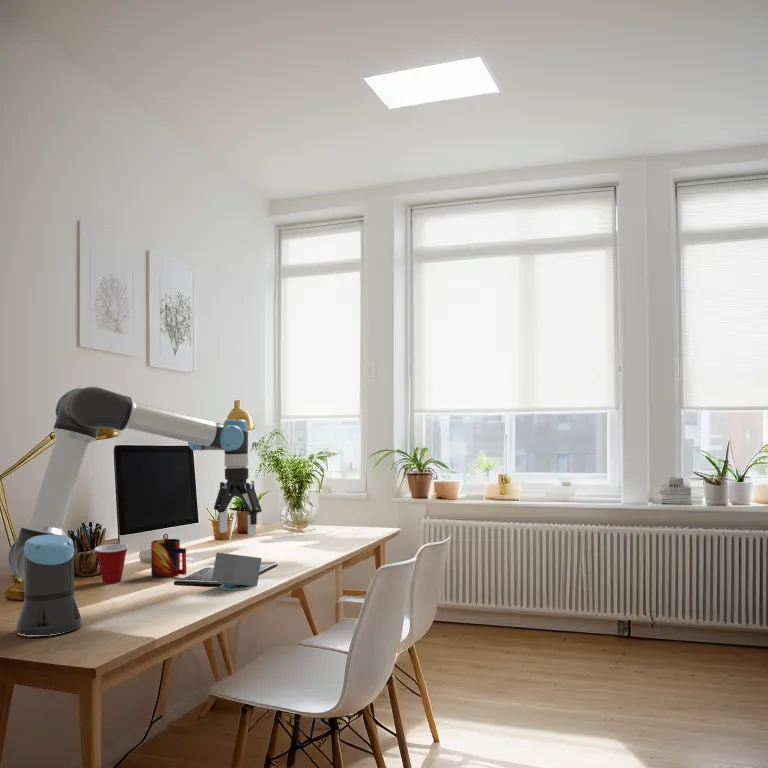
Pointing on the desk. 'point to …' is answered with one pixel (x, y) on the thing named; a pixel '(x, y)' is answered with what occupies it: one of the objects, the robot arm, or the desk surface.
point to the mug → (167, 558)
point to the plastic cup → (111, 561)
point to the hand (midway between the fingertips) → (237, 533)
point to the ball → (229, 585)
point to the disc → (237, 587)
